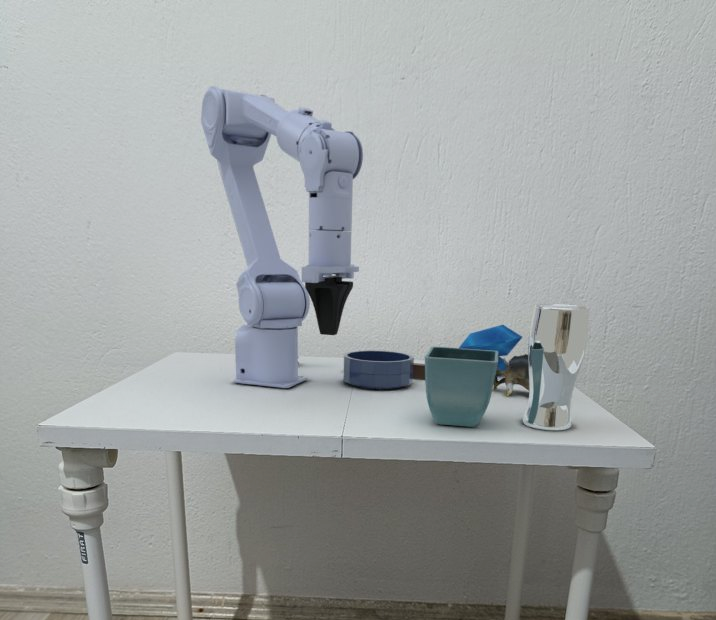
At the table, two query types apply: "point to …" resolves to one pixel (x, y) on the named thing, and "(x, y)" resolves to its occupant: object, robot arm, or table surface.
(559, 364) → the beer glass
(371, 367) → the bowl
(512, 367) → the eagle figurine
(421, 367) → the rail
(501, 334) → the crystal
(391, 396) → the table surface
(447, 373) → the flower pot
